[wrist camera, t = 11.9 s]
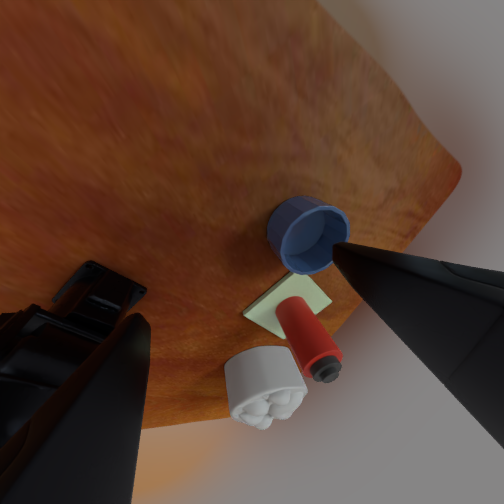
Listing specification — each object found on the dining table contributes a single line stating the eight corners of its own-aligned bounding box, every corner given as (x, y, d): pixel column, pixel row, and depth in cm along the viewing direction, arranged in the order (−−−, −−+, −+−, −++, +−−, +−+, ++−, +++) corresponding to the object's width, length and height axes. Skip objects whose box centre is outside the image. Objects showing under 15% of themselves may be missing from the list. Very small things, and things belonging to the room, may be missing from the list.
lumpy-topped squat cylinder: (274, 376, 40) (291, 426, 33) (217, 381, 35) (222, 441, 28) (295, 345, 36) (319, 395, 29) (233, 346, 31) (244, 406, 24)
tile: (281, 335, 34) (283, 339, 33) (242, 311, 28) (243, 315, 27) (329, 298, 32) (332, 301, 31) (298, 264, 26) (300, 267, 25)
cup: (289, 265, 26) (304, 285, 22) (253, 229, 22) (265, 246, 18) (334, 226, 24) (359, 241, 21) (306, 180, 20) (331, 188, 16)
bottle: (286, 324, 31) (322, 394, 22) (268, 311, 28) (301, 386, 19) (310, 305, 30) (358, 370, 21) (294, 290, 27) (341, 358, 19)
